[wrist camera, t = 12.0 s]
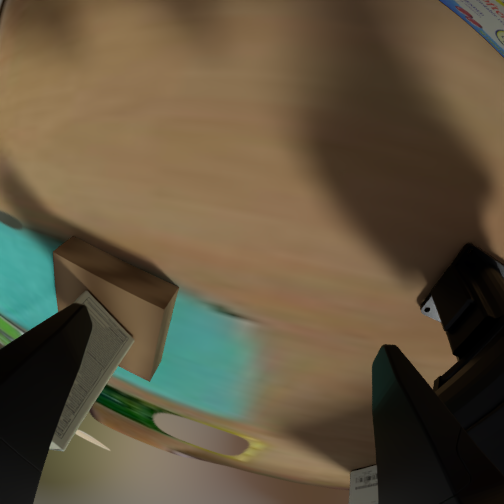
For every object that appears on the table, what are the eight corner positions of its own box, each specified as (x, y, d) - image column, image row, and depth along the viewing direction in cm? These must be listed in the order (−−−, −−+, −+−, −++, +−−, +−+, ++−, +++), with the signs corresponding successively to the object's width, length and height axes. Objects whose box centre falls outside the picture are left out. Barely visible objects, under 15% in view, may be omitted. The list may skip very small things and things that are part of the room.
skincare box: (70, 305, 26) (-11, 395, 16) (88, 287, 24) (-7, 388, 14) (116, 354, 27) (48, 450, 17) (139, 341, 25) (64, 453, 15)
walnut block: (181, 283, 26) (164, 309, 23) (162, 357, 32) (149, 381, 29) (76, 232, 26) (52, 251, 23) (78, 312, 32) (61, 332, 29)
